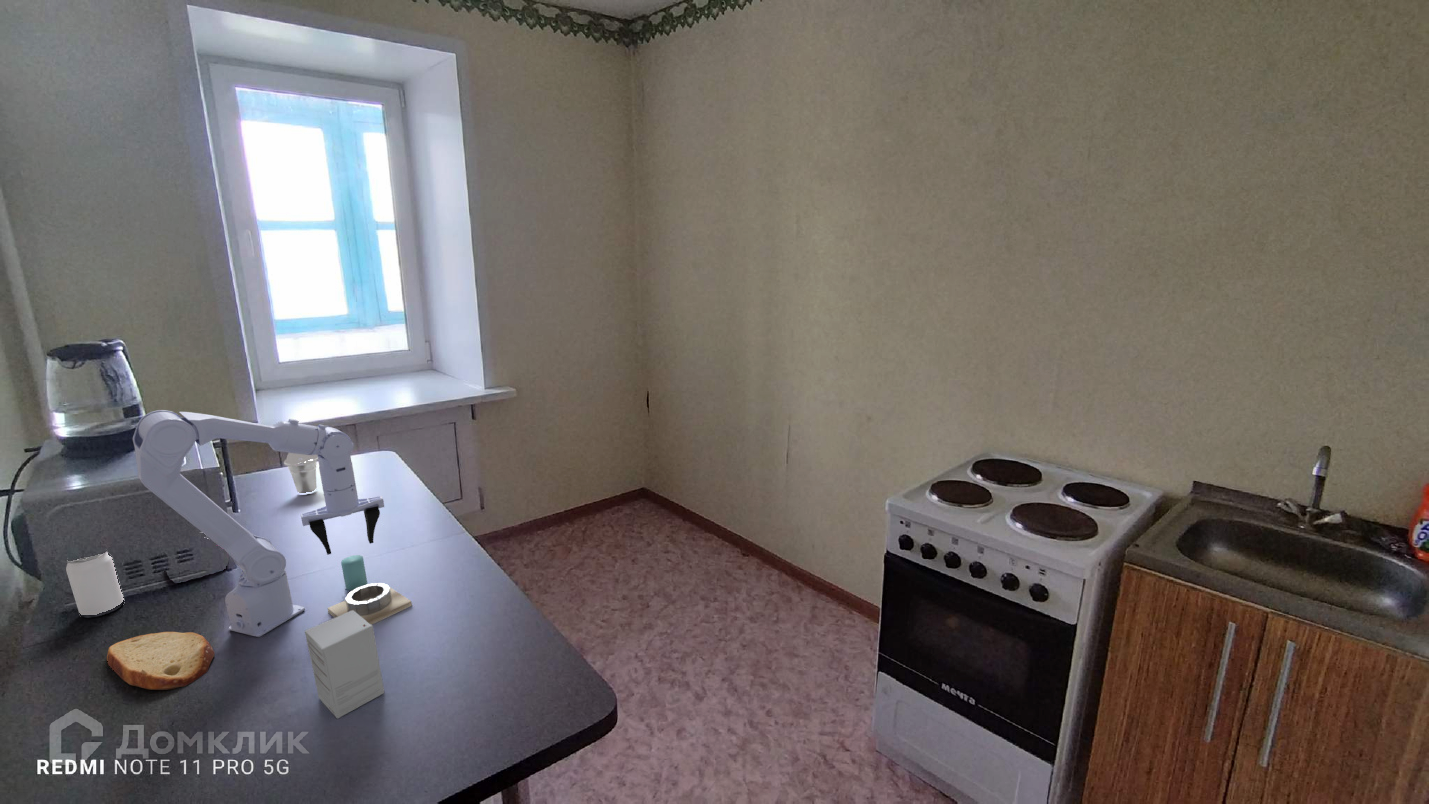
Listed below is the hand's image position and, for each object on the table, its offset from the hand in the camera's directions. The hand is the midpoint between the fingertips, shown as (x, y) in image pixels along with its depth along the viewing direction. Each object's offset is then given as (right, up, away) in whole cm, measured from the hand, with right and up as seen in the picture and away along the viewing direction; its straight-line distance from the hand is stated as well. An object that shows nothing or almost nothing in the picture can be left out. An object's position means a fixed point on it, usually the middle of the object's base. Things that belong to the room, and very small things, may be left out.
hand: (350, 546), depth 129 cm
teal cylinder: (0, -9, +2) cm, 9 cm away
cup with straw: (-43, +4, +51) cm, 67 cm away
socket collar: (+8, -11, -6) cm, 15 cm away
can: (-46, -11, -6) cm, 47 cm away
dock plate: (+8, -11, -6) cm, 15 cm away
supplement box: (+18, -17, -30) cm, 39 cm away
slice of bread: (-21, -16, -22) cm, 34 cm away
